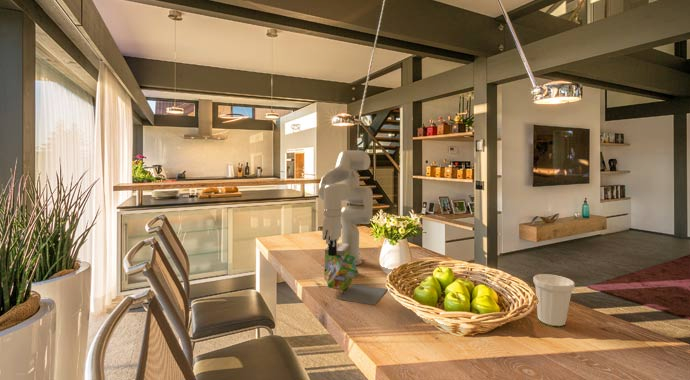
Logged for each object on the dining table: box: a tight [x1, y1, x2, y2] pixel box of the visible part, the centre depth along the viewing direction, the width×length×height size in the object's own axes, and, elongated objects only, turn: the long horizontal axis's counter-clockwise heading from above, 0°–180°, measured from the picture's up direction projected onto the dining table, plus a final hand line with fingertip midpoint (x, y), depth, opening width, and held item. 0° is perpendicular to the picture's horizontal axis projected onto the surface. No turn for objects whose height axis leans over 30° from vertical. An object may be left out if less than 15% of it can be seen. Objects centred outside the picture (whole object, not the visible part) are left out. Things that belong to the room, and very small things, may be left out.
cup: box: [532, 273, 576, 327], centre depth 124 cm, size 12×12×15 cm
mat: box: [337, 283, 388, 306], centre depth 150 cm, size 18×16×1 cm
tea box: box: [323, 242, 350, 280], centre depth 173 cm, size 15×10×15 cm
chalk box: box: [323, 254, 359, 293], centre depth 152 cm, size 9×9×15 cm
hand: (332, 255), depth 153 cm, fingers closed
